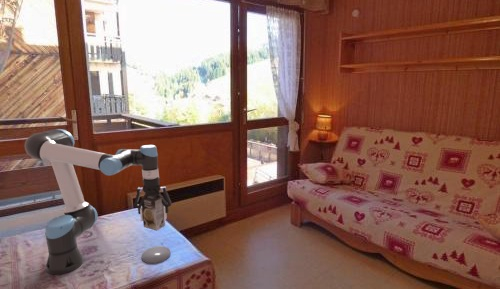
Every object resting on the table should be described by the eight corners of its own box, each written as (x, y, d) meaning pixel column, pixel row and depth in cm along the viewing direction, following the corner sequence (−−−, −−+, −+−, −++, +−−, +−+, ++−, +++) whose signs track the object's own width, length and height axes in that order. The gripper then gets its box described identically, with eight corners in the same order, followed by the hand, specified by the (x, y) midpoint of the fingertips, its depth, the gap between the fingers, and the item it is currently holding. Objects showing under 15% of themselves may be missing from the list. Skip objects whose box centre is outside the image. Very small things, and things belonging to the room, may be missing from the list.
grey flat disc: (138, 264, 144) (138, 262, 144) (145, 248, 157) (145, 246, 157) (167, 262, 145) (167, 261, 145) (172, 247, 159) (172, 245, 158)
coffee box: (143, 227, 147) (140, 196, 144) (152, 221, 153) (150, 192, 149) (156, 231, 143) (154, 200, 140) (166, 225, 149) (163, 195, 145)
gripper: (123, 180, 138) (127, 223, 142) (173, 178, 140) (176, 221, 144) (128, 175, 145) (132, 216, 150) (176, 174, 147) (178, 215, 152)
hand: (154, 219), depth 147 cm, fingers closed on coffee box, 10 cm apart
